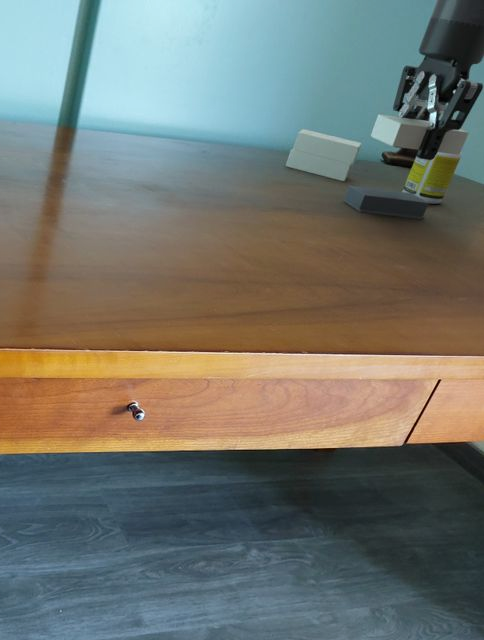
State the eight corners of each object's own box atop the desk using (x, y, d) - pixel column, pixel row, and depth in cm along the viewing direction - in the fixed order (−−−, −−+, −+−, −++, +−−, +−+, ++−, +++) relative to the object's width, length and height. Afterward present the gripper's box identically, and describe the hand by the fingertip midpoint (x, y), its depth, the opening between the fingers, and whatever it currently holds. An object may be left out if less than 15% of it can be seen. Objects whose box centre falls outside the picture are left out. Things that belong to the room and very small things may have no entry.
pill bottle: (445, 202, 122) (474, 135, 116) (434, 207, 117) (464, 138, 112) (407, 190, 125) (434, 125, 120) (395, 195, 121) (423, 127, 115)
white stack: (348, 177, 127) (361, 143, 124) (346, 182, 124) (359, 146, 121) (289, 162, 131) (301, 128, 128) (285, 166, 127) (296, 131, 124)
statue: (378, 158, 146) (419, 53, 137) (413, 164, 146) (457, 59, 137) (385, 164, 143) (429, 56, 133) (421, 170, 143) (467, 62, 133)
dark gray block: (402, 219, 108) (413, 193, 106) (419, 230, 104) (431, 203, 102) (338, 211, 106) (348, 185, 104) (353, 222, 102) (364, 195, 100)
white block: (434, 144, 103) (443, 123, 101) (459, 154, 98) (469, 132, 96) (370, 136, 101) (378, 114, 100) (392, 146, 96) (400, 123, 95)
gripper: (530, 30, 86) (468, 170, 94) (455, 18, 99) (406, 143, 107) (474, 21, 85) (416, 164, 93) (405, 10, 98) (359, 137, 106)
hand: (411, 152), depth 100 cm, fingers closed on white block, 5 cm apart
